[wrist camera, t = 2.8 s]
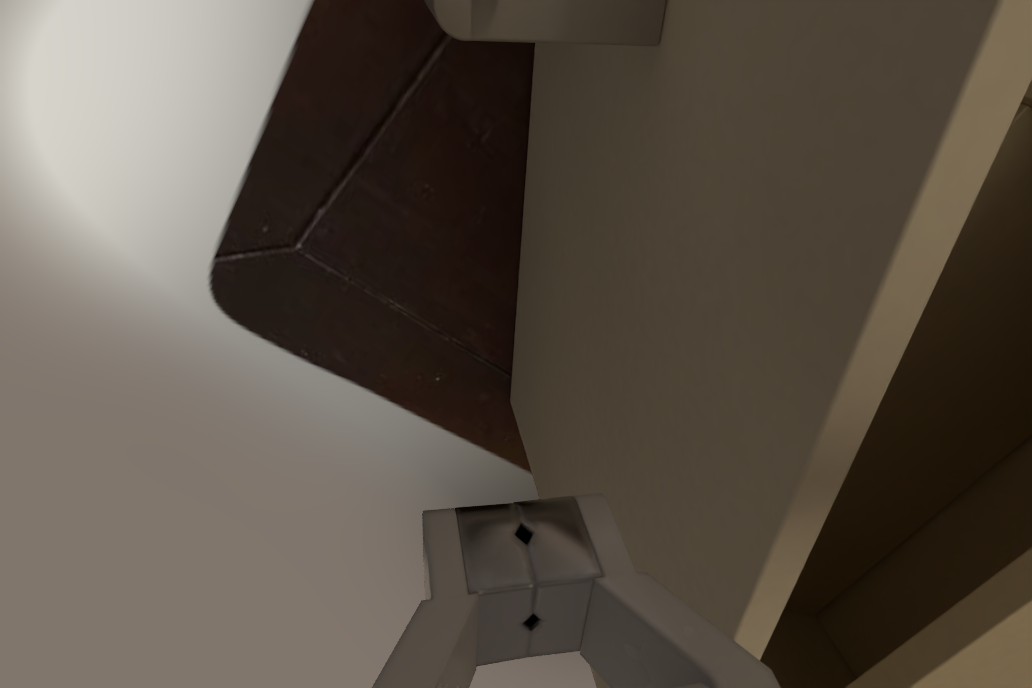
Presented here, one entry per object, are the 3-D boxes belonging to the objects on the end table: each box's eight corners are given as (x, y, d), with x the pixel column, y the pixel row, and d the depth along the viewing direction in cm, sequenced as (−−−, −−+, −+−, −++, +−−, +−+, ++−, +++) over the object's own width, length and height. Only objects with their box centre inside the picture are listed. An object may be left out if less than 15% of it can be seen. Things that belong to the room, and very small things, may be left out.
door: (415, 408, 40) (469, 891, 20) (398, -119, 25) (528, -161, 6) (525, 399, 41) (674, 845, 22) (569, -106, 27) (1122, -107, 7)
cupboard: (527, 402, 41) (678, 854, 22) (825, 12, 31) (1588, 205, 12) (721, 480, 49) (958, 861, 30) (1008, 189, 39) (1642, 476, 20)
